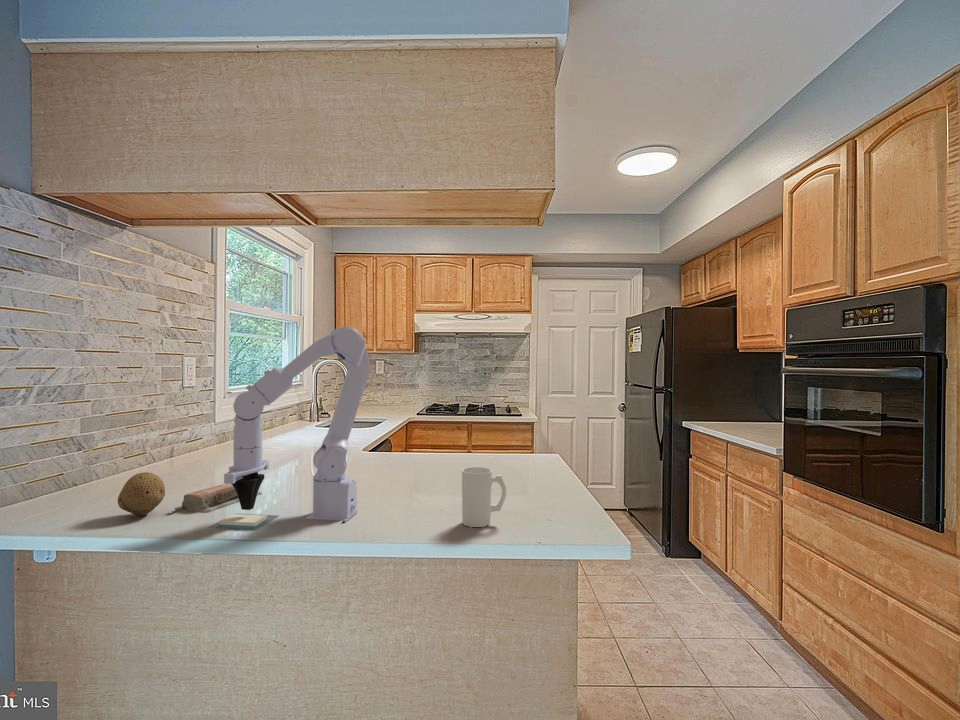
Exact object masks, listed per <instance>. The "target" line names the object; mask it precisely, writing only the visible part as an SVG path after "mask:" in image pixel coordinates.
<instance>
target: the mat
mask: <svg viewBox="0 0 960 720" xmlns="http://www.w3.org/2000/svg"><path fill="white" fill-rule="evenodd" d="M242 514H243V515H257V514H255V513H242ZM264 515H265V516H267V522H266V523H265V524H263V525H261V526H260V527H258V528H256V529H243V530H247V531H248V530H249V531H257V530H259V529H261V528H263V527H264V526H265V525H267V524H269V523H270V522H272V521H274V520H275V519H277V518H279V517H280V515H277V514H276V515H275V514H264ZM207 528H209V529H220V528H219V521H218V522H217V521H216V522H215V523H214V524H213V523H212V524H211V525H210V526H207ZM224 529H226V530H227V529H229V530H238V529H237V528H223V530H224Z"/></svg>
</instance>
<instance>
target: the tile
mask: <svg viewBox="0 0 960 720" xmlns="http://www.w3.org/2000/svg"><path fill="white" fill-rule="evenodd" d="M243 514H244V513H231V514H230V515H228V516H226V517H224V518H223V519H220V520H219V521H218V522H219V528H218V529H224V528H237V529H236V530H244V529H256V528H258V527H260V526H261V525H263V524H265V523H266V522H267V516H265V515H266V514H256V515H243Z"/></svg>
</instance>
